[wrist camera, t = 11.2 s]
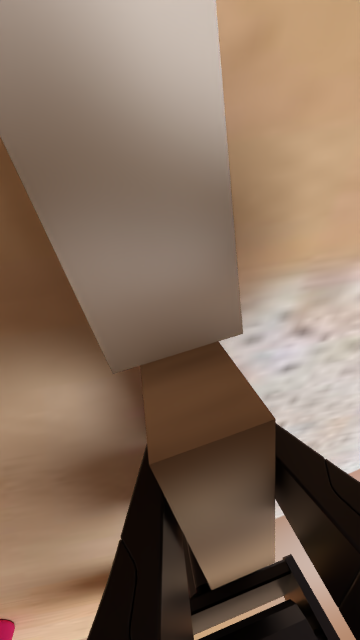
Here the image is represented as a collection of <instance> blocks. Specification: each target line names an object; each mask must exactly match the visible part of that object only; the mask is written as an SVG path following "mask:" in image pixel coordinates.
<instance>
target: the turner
mask: <svg viewBox="0 0 360 640" xmlns="http://www.w3.org/2000/svg"><path fill="white" fill-rule="evenodd" d="M0 137H1V139H2V141H3V143H4V145H5V147H6V150H7V152H8V154H9V156H10V158H11V160H12V162H13V164H14V166H15V169H16V171H17V173H18V175H19V177H20V179H21V181H22V183H23V185H24V188H25V190H26V192H27V194H28V196H29V198H30V200H31V202H32V204H33V207H34V209H35V211H36V213H37V215H38V217H39V219H40V221H41V223H42V226H43V228H44V230H45V232H46V234H47V236H48V238H49V240H50V242H51V245H52V247H53V249H54V251H55V253H56V255H57V257H58V259H59V261H60V264H61V266H62V268H63V270H64V272H65V274H66V276H67V278H68V280H69V283H70V285H71V287H72V289H73V291H74V293H75V295H76V297H77V299H78V302H79V304H80V306H81V308H82V310H83V312H84V314H85V316H86V318H87V321H88V323H89V325H90V327H91V329H92V331H93V333H94V335H95V337H96V339H97V342H98V344H99V346H100V348H101V350H102V352H103V354H104V356H105V358H106V361H107V363H108V365H109V367H110V369H111V371H112V373H113V374H115V373H118V372H121V371H124V370H128V369H131V368H134V367H137V366H140V368H141V379H142V391H143V402H144V413H145V424H146V435H147V447H148V458H149V466H150V468H151V470H152V472H153V474H154V476H155V478H156V480H157V482H158V484H159V485H160V487H161V489H162V491H163V493H164V495H165V497H166V499H167V501H168V503H169V505H170V507H171V509H172V511H173V513H174V515H175V517H176V519H177V521H178V523H179V525H180V527H181V529H182V531H183V533H184V535H185V537H186V539H187V541H188V543H189V545H190V547H191V549H192V551H193V553H194V555H195V557H196V559H197V561H198V563H199V565H200V567H201V569H202V571H203V573H204V575H205V577H206V579H207V581H208V583H209V585H210V587H211V589H212V590H213V589H216V588H218V587H220V586H222V585H225V584H227V583H229V582H232V581H234V580H236V579H238V578H241V577H243V576H245V575H248V574H250V573H252V572H254V571H257V570H259V569H261V568H264V567H266V566H268V565H270V564H273V563H274V562H275V418H274V416H273V415H272V414H271V412H270V411H269V410H268V408H267V407H266V405H265V404H264V403H263V401H262V400H261V399H260V397H259V396H258V395H257V393H256V392H255V391H254V389H253V388H252V386H251V385H250V384H249V382H248V381H247V380H246V378H245V377H244V376H243V374H242V373H241V372H240V370H239V369H238V367H237V366H236V365H235V363H234V362H233V361H232V359H231V358H230V357H229V355H228V354H227V352H226V351H225V350H224V348H223V347H222V346H221V344H220V343H219V342H218V341H221V340H224V339H227V338H230V337H233V336H237V335H240V334H243V329H242V316H241V304H240V292H239V279H238V267H237V255H236V243H235V230H234V218H233V206H232V194H231V181H230V169H229V157H228V144H227V132H226V120H225V108H224V95H223V83H222V71H221V59H220V46H219V34H218V22H217V10H216V0H0Z"/></svg>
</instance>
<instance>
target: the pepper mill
mask: <svg viewBox="0 0 360 640" xmlns="http://www.w3.org/2000/svg"><path fill="white" fill-rule="evenodd" d="M14 629H15V626H14V623H12V622H11V621H8V620H0V640H12V637H13V633H14Z"/></svg>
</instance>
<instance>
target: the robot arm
mask: <svg viewBox="0 0 360 640" xmlns="http://www.w3.org/2000/svg"><path fill="white" fill-rule="evenodd" d="M275 499H276V501H277V503H278V504H279V506H280V508H281V510H282V511H283V513H284V515H285V516H286V518H287V520H288V522H289V523H290V525H291V527H292V528H293V530H294V532H295V534H296V536H297V537H298V539H299V540H300V543H301V544H302V546H303V548H304V549H305V551H306V553H307V555H308V556H309V558H310V560H311V562H312V563H313V565H314V567H315V569H316V570H317V572H318V574H319V575H320V577H321V579H322V581H323V582H324V584H325V586H326V588H327V589H328V591H329V593H330V595H331V596H332V598H333V600H334V602H335V603H336V605H337V607H339V611H340V612H341V614H342V616H343V617H344V619H345V621H346V623H347V624H348V626H349V628H350V630H351V631H352V633H353V635H354V637H355V638H356V640H360V482H359V481H357V480H356V479H354V478H353V477H351V476H350V475H348V474H347V473H346V472H344V471H343V470H341V469H340V468H338V467H337V466H335V465H334V464H333V463H331V462H330V461H328V460H327V459H324V457H323V456H321V455H320V454H318V453H317V452H316V451H314V450H313V449H311V448H310V447H309V446H307V445H306V444H304V443H303V442H302V441H300V440H299V439H297V438H296V437H295V436H293V435H292V434H290V433H289V432H288V431H286V430H285V429H283V428H282V427H280V426H279V425H278V424H276V423H275ZM282 596H284V598H285V600H286V601H285V602H282V603H280V604H278V605H276V606H273V607H271V608H269V609H267V610H264V611H262V612H260V613H257V614H255V615H253V616H251V617H249V618H246V619H244V620H241V621H239V622H237V623H235V624H232V625H230V626H228V627H226V628H224V629H221V630H219V631H216V632H214V633H212V634H210V635H207V636H205V637H203V638H201V639H198V640H340V638H339V637H338V635H337V633H336V631H335V630H334V628H333V626H332V624H331V623H330V621H329V619H328V617H327V616H326V614H325V612H324V611H323V609H322V607H321V605H320V603H319V602H318V600H317V598H316V596H315V595H314V593H313V591H312V589H311V588H310V586H309V584H308V583H307V581H306V579H305V577H304V576H303V574H302V572H301V570H300V569H299V567H298V565H297V563H296V562H295V560H294V558H293V556H292V555H291V554H290V555H288V556H285V557H283V560H281V561H279V562H276V563H274V564H271V565H269V566H266V567H264V568H261V569H259V570H257V571H254V572H252V573H250V574H248V575H245V576H243V577H241V578H238V579H236V580H234V581H232V582H229V583H227V584H225V585H222V586H220V587H218V588H216V589H213V590H212V589H211V587H210V585H209V583H208V581H207V579H206V577H205V575H204V573H203V571H202V569H201V567H200V565H199V563H198V561H197V559H196V557H195V555H194V553H193V551H192V549H191V547H190V545H189V543H188V541H187V539H186V537H185V535H184V533H183V531H182V529H181V527H180V525H179V523H178V521H177V519H176V517H175V515H174V513H173V511H172V509H171V507H170V505H169V503H168V501H167V499H166V497H165V495H164V493H163V491H162V489H161V487H160V485H159V484H158V482H157V480H156V478H155V476H154V474H153V472H152V470H151V468H150V466H149V458H148V447H147V445H146V448H145V452H144V456H143V459H142V463H141V466H140V470H139V473H138V477H137V480H136V484H135V487H134V491H133V495H132V498H131V502H130V505H129V509H128V512H127V516H126V519H125V523H124V526H123V530H122V534H121V540H120V541H119V544H118V547H117V551H116V554H115V558H114V561H113V565H112V568H111V571H110V574H109V578H108V581H107V584H106V587H105V590H104V593H103V596H102V599H101V602H100V604H99V607H98V610H97V613H96V616H95V619H94V622H93V624H92V627H91V630H90V633H89V635H88V638H87V640H194V637H193V635H195V634H197V633H200V632H202V631H204V630H206V629H209V628H211V627H213V626H216V625H218V624H220V623H223V622H225V621H227V620H229V619H232V618H234V617H236V616H239V615H241V614H243V613H246V612H248V611H250V610H252V609H255V608H257V607H259V606H262V605H264V604H266V603H268V602H271V601H273V600H275V599H278V598H280V597H282Z"/></svg>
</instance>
